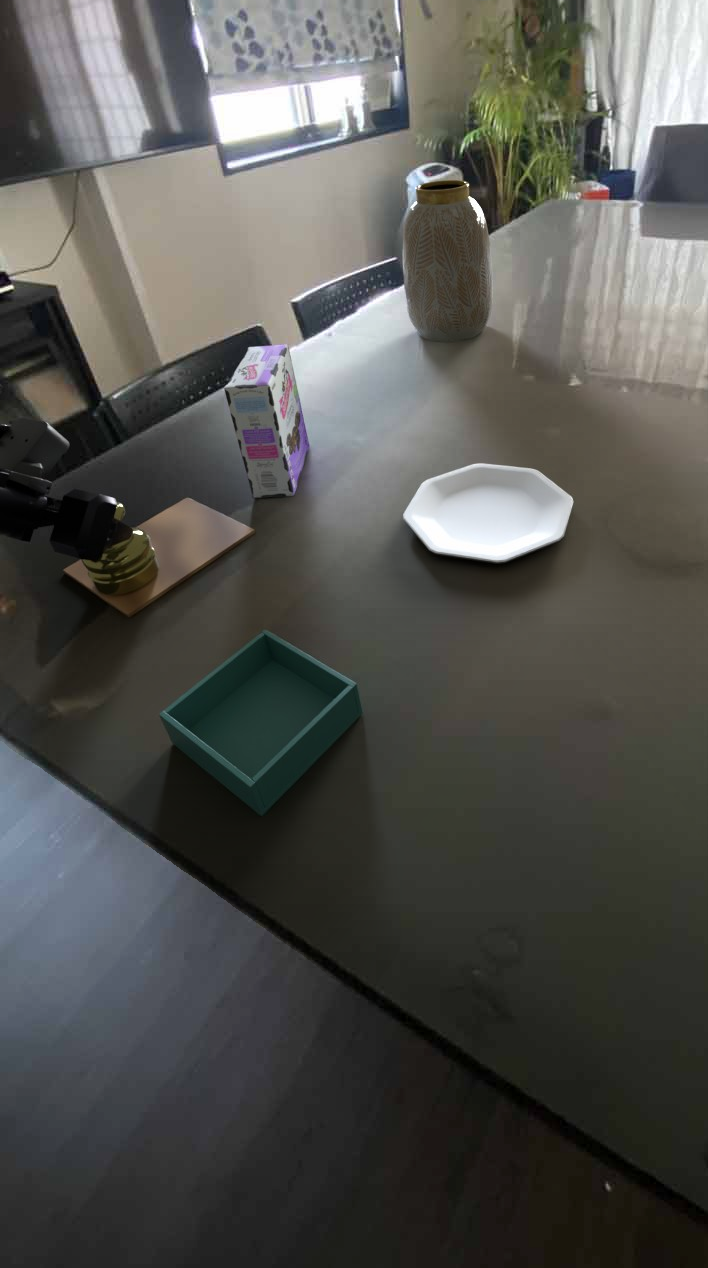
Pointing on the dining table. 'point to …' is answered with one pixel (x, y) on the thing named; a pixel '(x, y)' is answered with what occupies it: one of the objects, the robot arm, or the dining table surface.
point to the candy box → (268, 420)
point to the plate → (489, 513)
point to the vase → (447, 263)
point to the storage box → (262, 718)
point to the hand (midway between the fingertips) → (99, 525)
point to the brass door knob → (124, 563)
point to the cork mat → (174, 551)
